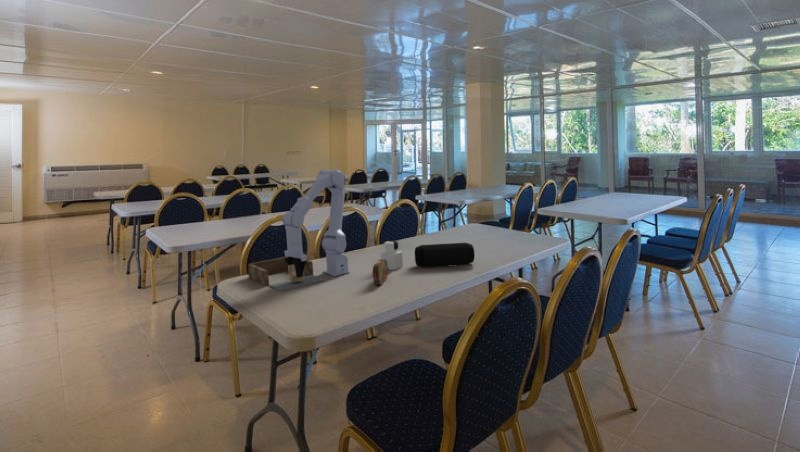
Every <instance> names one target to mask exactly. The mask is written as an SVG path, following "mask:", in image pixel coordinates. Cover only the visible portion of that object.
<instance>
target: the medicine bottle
mask: <svg viewBox="0 0 800 452" xmlns="http://www.w3.org/2000/svg"><path fill="white" fill-rule="evenodd" d="M403 257H404V256H403V251H401V250H399V242H398V241H396V240H387V241H384V251H383V252H381V253H380V260H381V259H385V260H386V262H387V267H388V271H389V270H390V271H395V270H398V269H401V268H403V266H404V263H403V261H404V260H403Z"/></svg>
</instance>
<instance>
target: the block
mask: <svg viewBox="0 0 800 452" xmlns="http://www.w3.org/2000/svg"><path fill="white" fill-rule="evenodd" d="M287 271H288V281H289V280H290V281H293V282H298V281H302V280H305V277H306V276H305V274H304V271H303V276H302V277H297V275H296V270H295V266H294V264H293V265H288V270H287Z"/></svg>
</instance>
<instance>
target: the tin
mask: <svg viewBox="0 0 800 452" xmlns="http://www.w3.org/2000/svg"><path fill="white" fill-rule="evenodd" d="M388 271H389V269H388V267H387V262H386V260H385V259H381V258H380V259H378V260H377V261H376V262H375V264H373V266H372V277H373V284H374V285H375V286H376V285H377V286H383V285H384V283H385V282H386V280H387V279H388V275H389V274H388V273H389V272H388Z"/></svg>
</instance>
